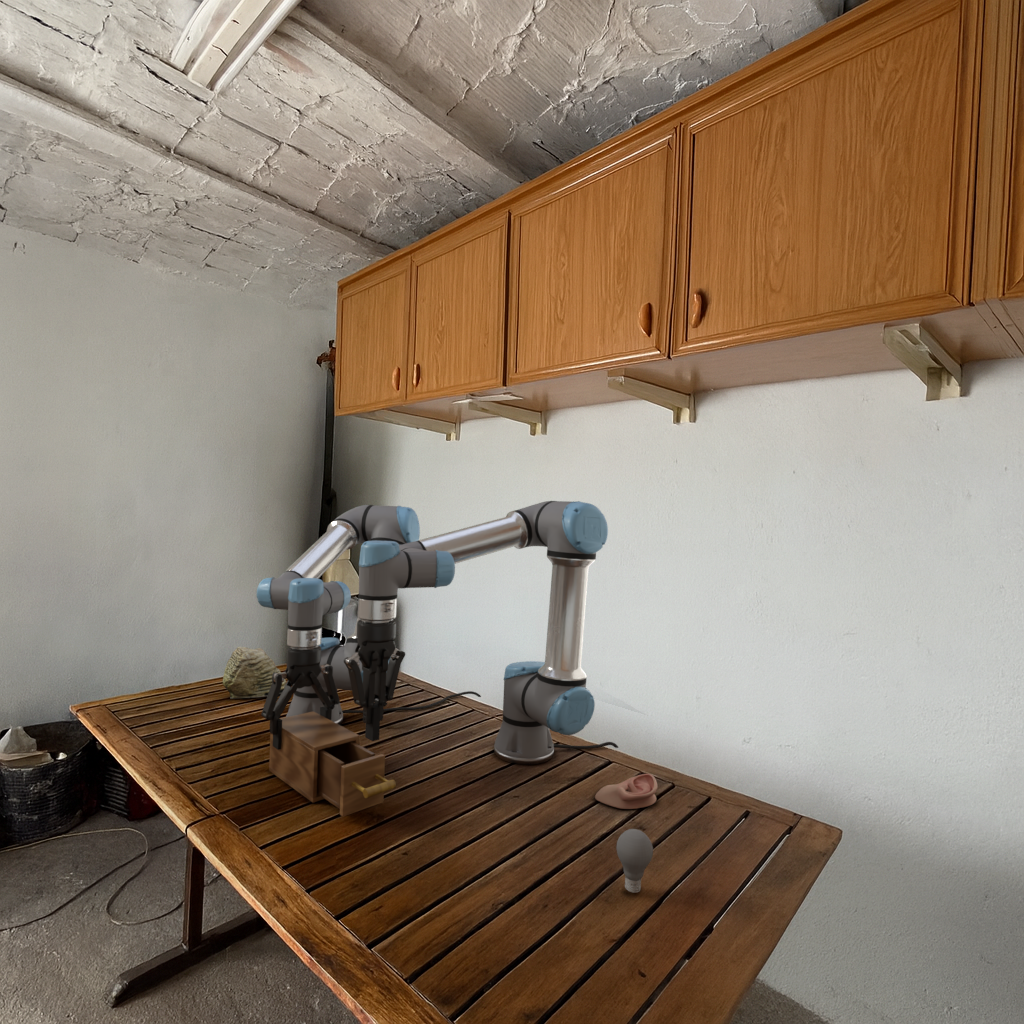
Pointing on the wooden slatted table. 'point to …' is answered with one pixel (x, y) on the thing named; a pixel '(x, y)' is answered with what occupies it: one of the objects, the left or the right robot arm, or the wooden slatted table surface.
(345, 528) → the left robot arm
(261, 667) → the fossil
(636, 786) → the anatomical model
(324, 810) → the wooden slatted table surface
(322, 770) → the drawer
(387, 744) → the wooden slatted table surface
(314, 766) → the cabinet
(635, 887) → the light bulb
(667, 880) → the wooden slatted table surface
